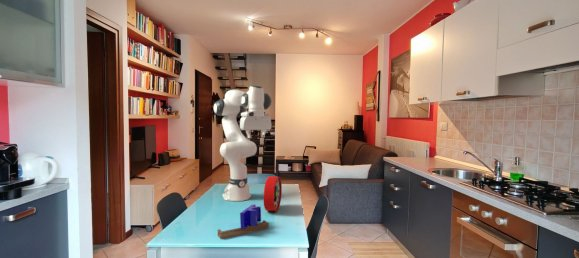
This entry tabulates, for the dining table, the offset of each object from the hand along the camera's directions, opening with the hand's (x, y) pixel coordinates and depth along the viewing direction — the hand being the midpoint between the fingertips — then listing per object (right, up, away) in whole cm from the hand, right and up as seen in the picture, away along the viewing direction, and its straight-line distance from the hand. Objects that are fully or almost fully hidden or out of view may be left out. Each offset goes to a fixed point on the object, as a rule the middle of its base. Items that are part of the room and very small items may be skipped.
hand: (256, 137), depth 162 cm
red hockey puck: (+9, -43, +5) cm, 45 cm away
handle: (-3, -44, -28) cm, 52 cm away
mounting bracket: (-2, -38, -23) cm, 44 cm away
